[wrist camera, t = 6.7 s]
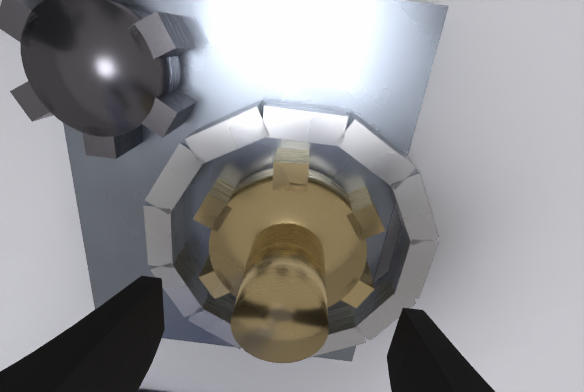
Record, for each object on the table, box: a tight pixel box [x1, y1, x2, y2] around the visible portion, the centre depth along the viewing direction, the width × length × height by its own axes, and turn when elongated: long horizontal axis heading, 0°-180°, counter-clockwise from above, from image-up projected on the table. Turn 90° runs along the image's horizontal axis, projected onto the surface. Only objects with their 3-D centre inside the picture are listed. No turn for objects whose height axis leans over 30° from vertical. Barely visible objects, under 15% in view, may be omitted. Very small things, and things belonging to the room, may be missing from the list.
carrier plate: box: [0, 0, 448, 361], centre depth 14 cm, size 16×15×3 cm
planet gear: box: [193, 148, 385, 363], centre depth 12 cm, size 7×7×5 cm
